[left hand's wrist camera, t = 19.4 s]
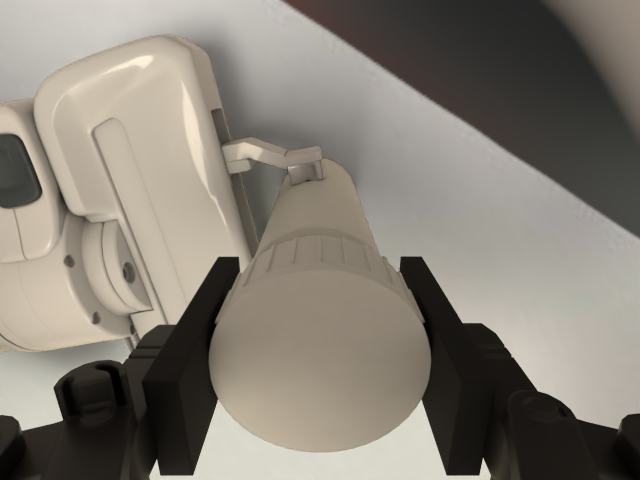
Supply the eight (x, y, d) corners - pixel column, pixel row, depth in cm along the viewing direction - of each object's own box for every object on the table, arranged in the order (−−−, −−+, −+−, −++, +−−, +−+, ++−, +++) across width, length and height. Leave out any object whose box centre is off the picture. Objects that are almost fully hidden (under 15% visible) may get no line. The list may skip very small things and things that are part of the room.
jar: (368, 206, 27) (428, 346, 12) (307, 242, 28) (294, 412, 13) (330, 142, 26) (346, 217, 11) (266, 183, 26) (201, 302, 12)
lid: (188, 284, 12) (158, 327, 10) (366, 198, 11) (378, 224, 9) (282, 419, 14) (275, 480, 12) (441, 355, 13) (466, 409, 11)
